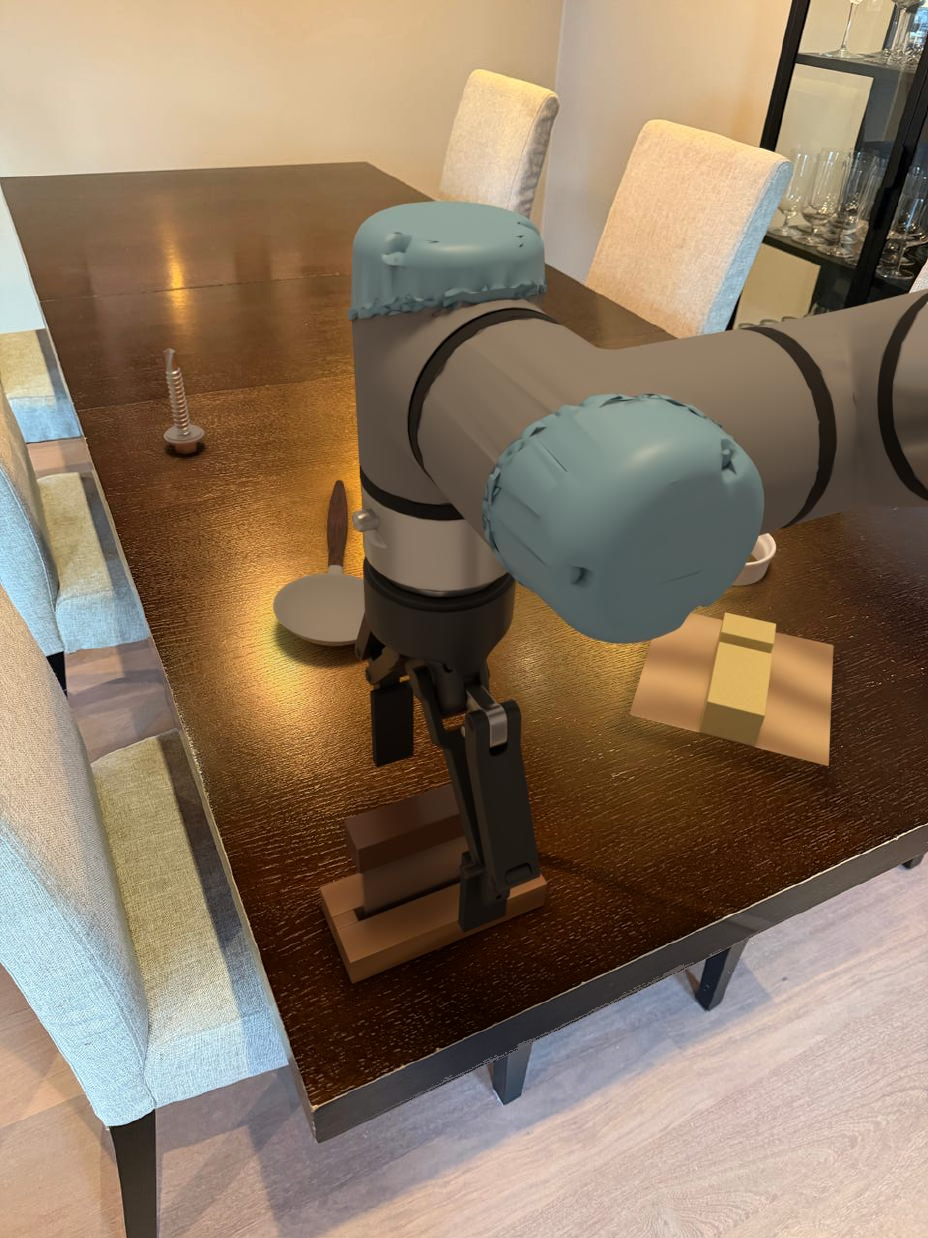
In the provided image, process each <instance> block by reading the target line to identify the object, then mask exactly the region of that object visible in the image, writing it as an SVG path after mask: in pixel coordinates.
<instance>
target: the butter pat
mask: <svg viewBox="0 0 928 1238" xmlns="http://www.w3.org/2000/svg"><path fill="white" fill-rule="evenodd" d="M722 620H723V622H722V625H721V629H720V633H719V636H718V640H717V644H716V649H715V654H714V659H715V655H716V651H717V648H718V644H719V642H723V643H727V644H732V645H736V646H740V647H745V648H749V649H753V650H757V651H762V652H766V653H770V654H771V652H772V648H773V645H774V639H775V632H777V631H776V630H777V623H774V622H770V621H765V620H760V619H756V618H751V617H748V616H743V615H738V614H734V613H729V612H724V614H723V618H722ZM714 659H713V662H714Z"/></svg>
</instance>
